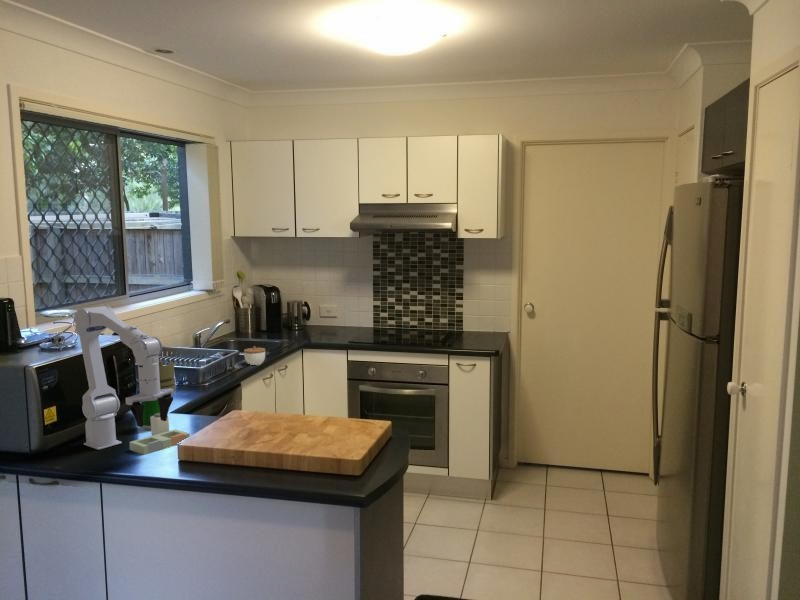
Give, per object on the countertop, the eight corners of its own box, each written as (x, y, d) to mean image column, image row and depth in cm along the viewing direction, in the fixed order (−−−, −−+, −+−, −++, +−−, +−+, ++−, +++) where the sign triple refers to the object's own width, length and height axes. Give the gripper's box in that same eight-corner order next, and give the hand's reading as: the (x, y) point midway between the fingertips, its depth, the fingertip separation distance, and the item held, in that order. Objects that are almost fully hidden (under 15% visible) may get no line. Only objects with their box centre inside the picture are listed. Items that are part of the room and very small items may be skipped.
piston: (162, 367, 276) (139, 366, 280) (164, 395, 278) (141, 394, 281) (179, 361, 287) (157, 361, 291) (180, 389, 288) (159, 388, 292)
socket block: (129, 449, 207) (129, 441, 206) (175, 436, 219) (175, 428, 219) (144, 454, 202) (143, 445, 201) (190, 441, 214) (189, 432, 214)
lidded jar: (269, 364, 338) (268, 346, 337) (248, 367, 332) (247, 348, 331) (261, 361, 347) (260, 343, 346) (241, 364, 341) (240, 346, 340)
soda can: (161, 430, 227) (159, 395, 226) (139, 431, 227) (136, 396, 226) (168, 424, 234) (166, 390, 233) (147, 424, 234) (145, 391, 233)
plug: (151, 437, 219) (150, 414, 218) (162, 434, 222) (161, 411, 221) (158, 439, 216) (157, 416, 216) (169, 436, 220) (168, 413, 219)
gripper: (133, 385, 190) (136, 431, 191) (178, 375, 201) (181, 419, 203) (120, 382, 194) (123, 427, 196) (165, 373, 206) (168, 416, 207)
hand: (152, 423), depth 200 cm, fingers open, 7 cm apart
